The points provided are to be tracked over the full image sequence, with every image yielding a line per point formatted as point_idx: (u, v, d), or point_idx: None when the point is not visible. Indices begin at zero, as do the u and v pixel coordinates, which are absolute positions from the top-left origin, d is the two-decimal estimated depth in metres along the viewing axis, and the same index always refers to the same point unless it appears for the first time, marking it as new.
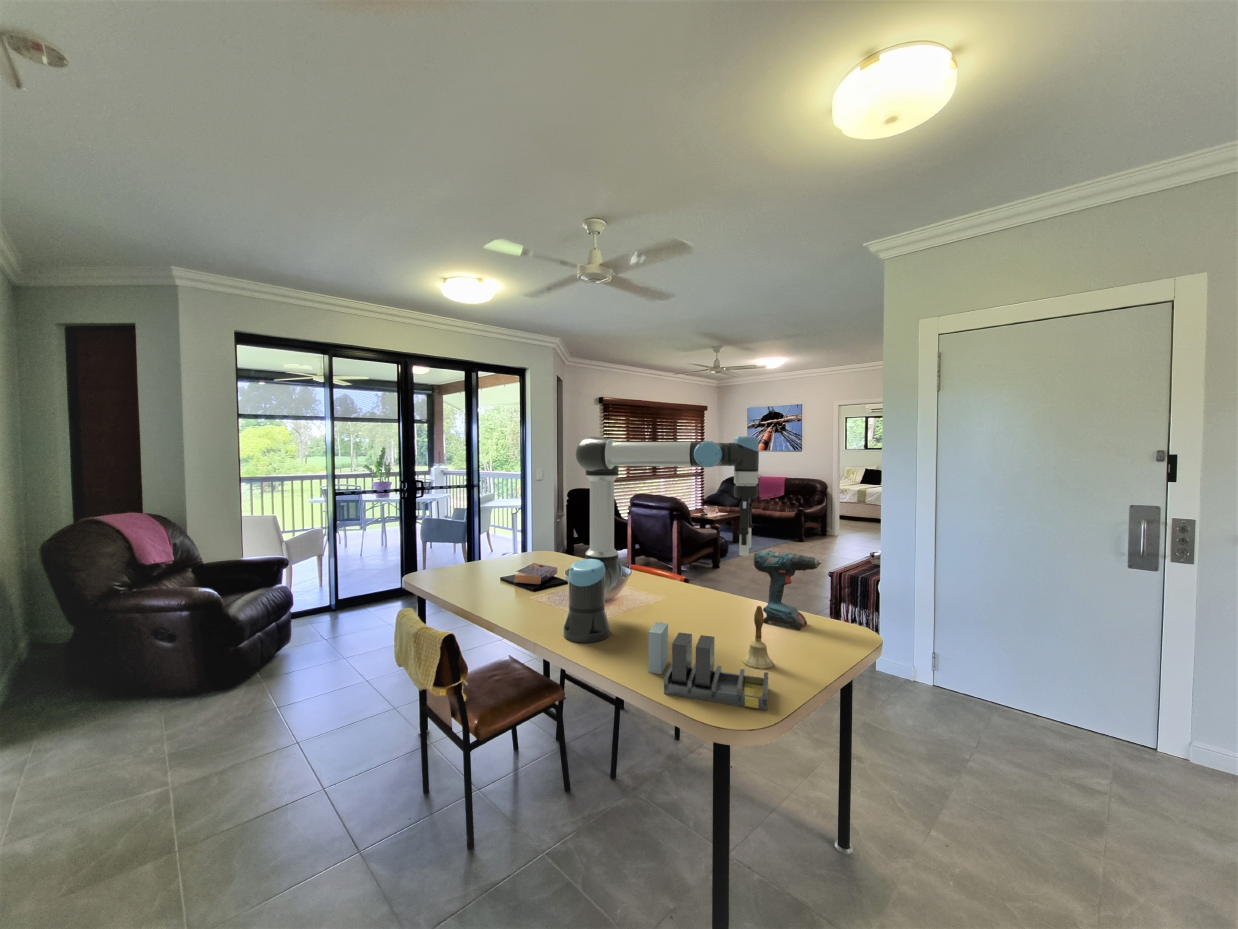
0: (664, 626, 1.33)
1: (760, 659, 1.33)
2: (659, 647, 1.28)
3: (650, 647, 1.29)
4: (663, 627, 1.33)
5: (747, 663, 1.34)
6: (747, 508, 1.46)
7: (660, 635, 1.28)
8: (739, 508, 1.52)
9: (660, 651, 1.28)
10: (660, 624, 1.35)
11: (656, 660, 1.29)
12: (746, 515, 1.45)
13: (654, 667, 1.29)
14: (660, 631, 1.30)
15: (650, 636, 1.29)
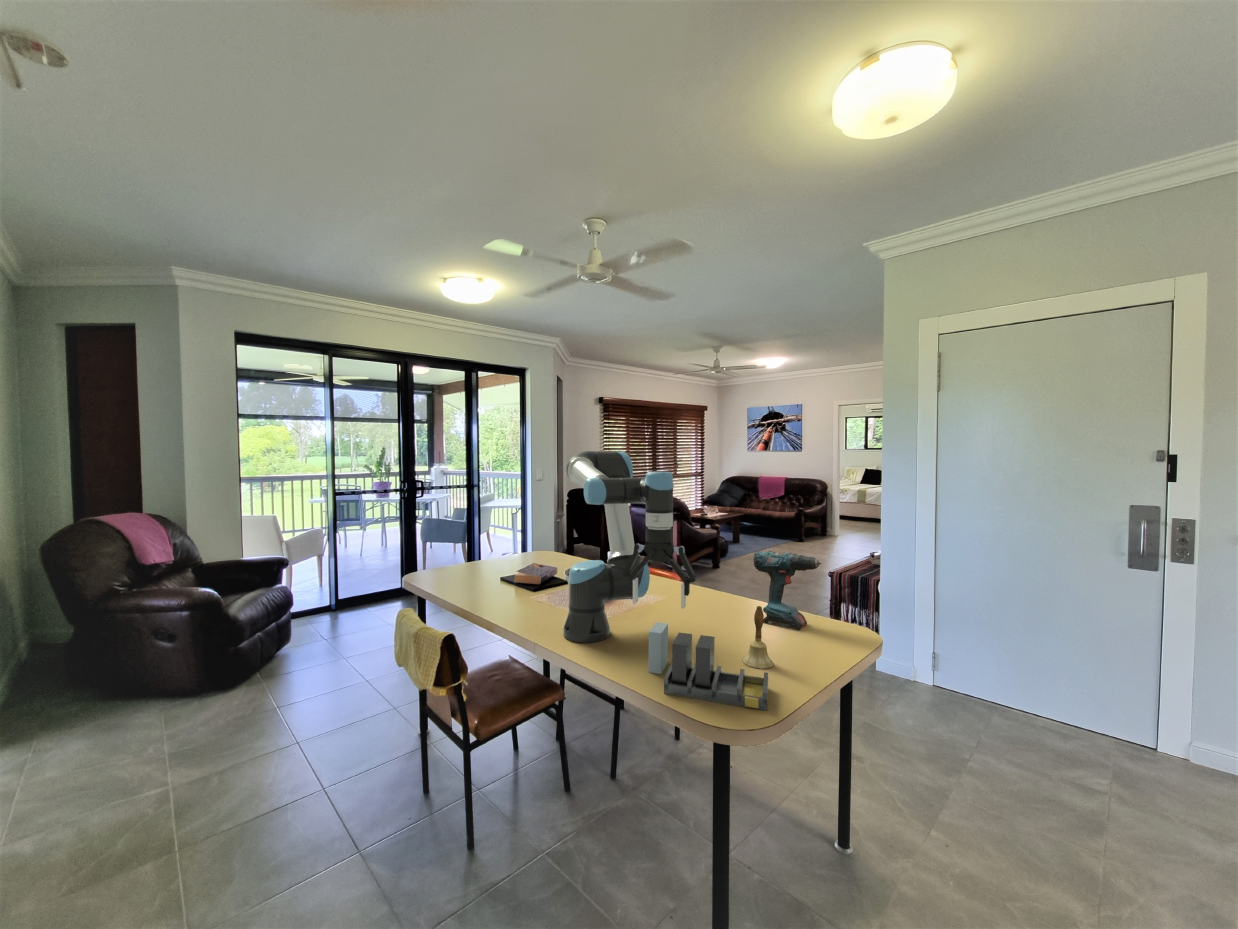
0: (664, 626, 1.33)
1: (760, 659, 1.33)
2: (659, 647, 1.28)
3: (650, 647, 1.29)
4: (663, 627, 1.33)
5: (747, 663, 1.34)
6: None
7: (660, 635, 1.28)
8: None
9: (660, 651, 1.28)
10: (660, 624, 1.35)
11: (656, 660, 1.29)
12: (630, 558, 1.34)
13: (654, 667, 1.29)
14: (660, 631, 1.30)
15: (650, 636, 1.29)
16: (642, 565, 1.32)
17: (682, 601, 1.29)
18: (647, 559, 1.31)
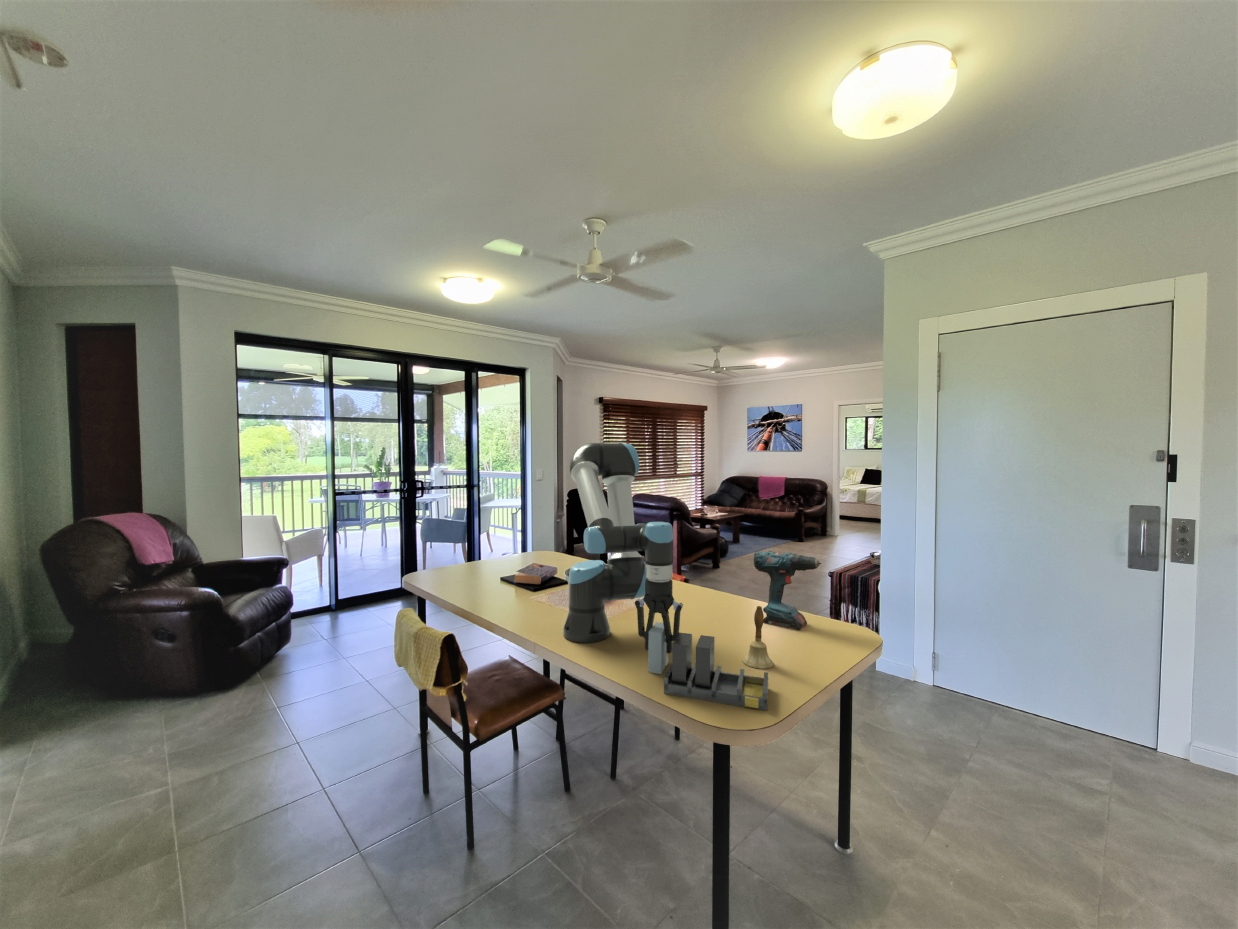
0: None
1: (760, 659, 1.33)
2: (659, 647, 1.28)
3: (650, 647, 1.29)
4: (663, 627, 1.33)
5: (747, 663, 1.34)
6: None
7: (660, 635, 1.28)
8: None
9: (660, 651, 1.28)
10: (660, 624, 1.35)
11: (656, 660, 1.29)
12: None
13: (654, 666, 1.29)
14: (660, 631, 1.30)
15: (650, 636, 1.29)
16: (650, 620, 1.32)
17: (664, 659, 1.31)
18: (651, 613, 1.31)
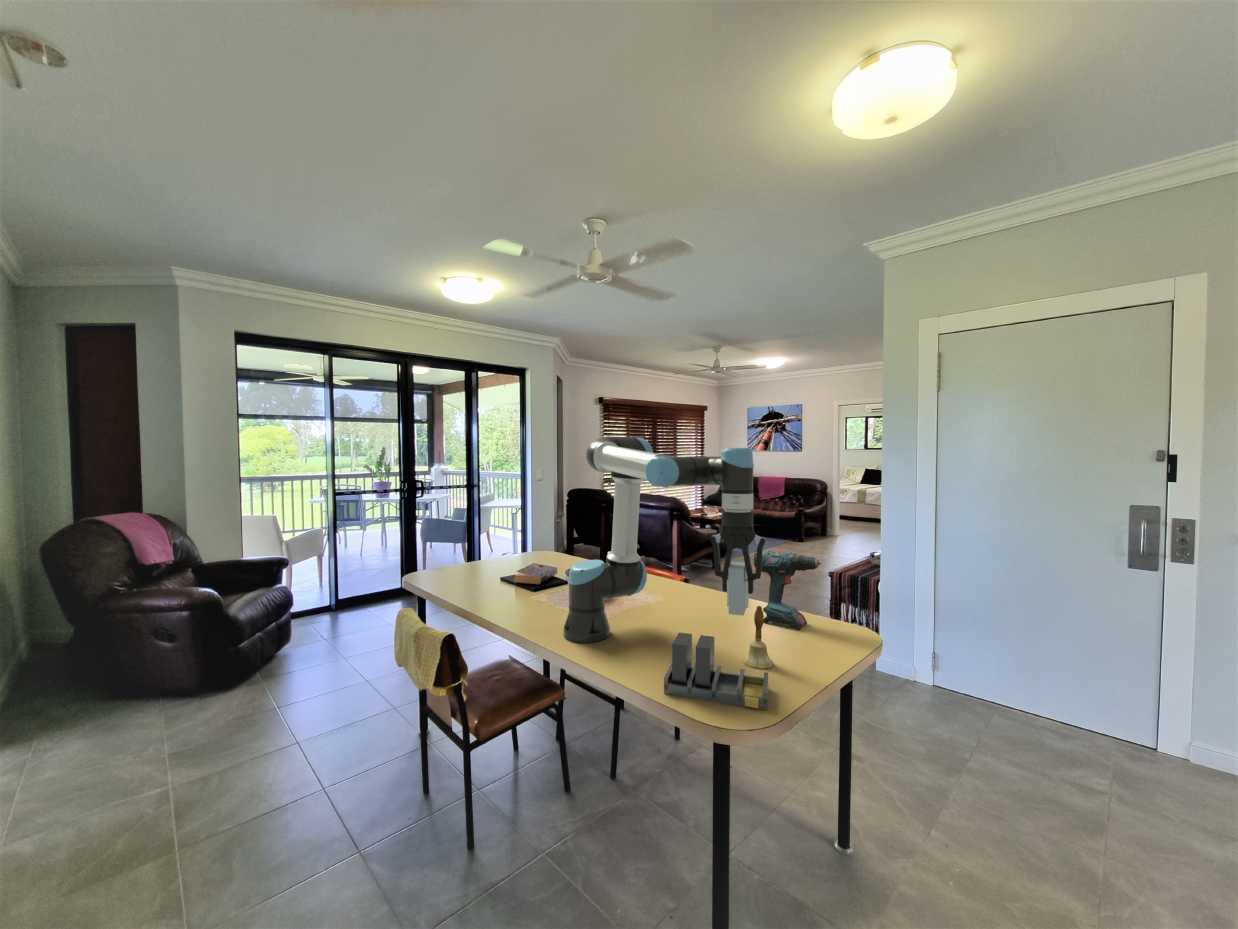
0: (743, 564, 1.19)
1: (760, 659, 1.33)
2: (741, 585, 1.14)
3: (730, 585, 1.15)
4: (742, 565, 1.18)
5: (747, 663, 1.34)
6: None
7: (742, 571, 1.14)
8: None
9: (742, 589, 1.14)
10: (738, 563, 1.21)
11: (738, 599, 1.14)
12: (713, 553, 1.19)
13: (735, 607, 1.14)
14: (741, 567, 1.15)
15: (730, 573, 1.15)
16: (729, 557, 1.18)
17: (746, 600, 1.16)
18: (730, 548, 1.17)
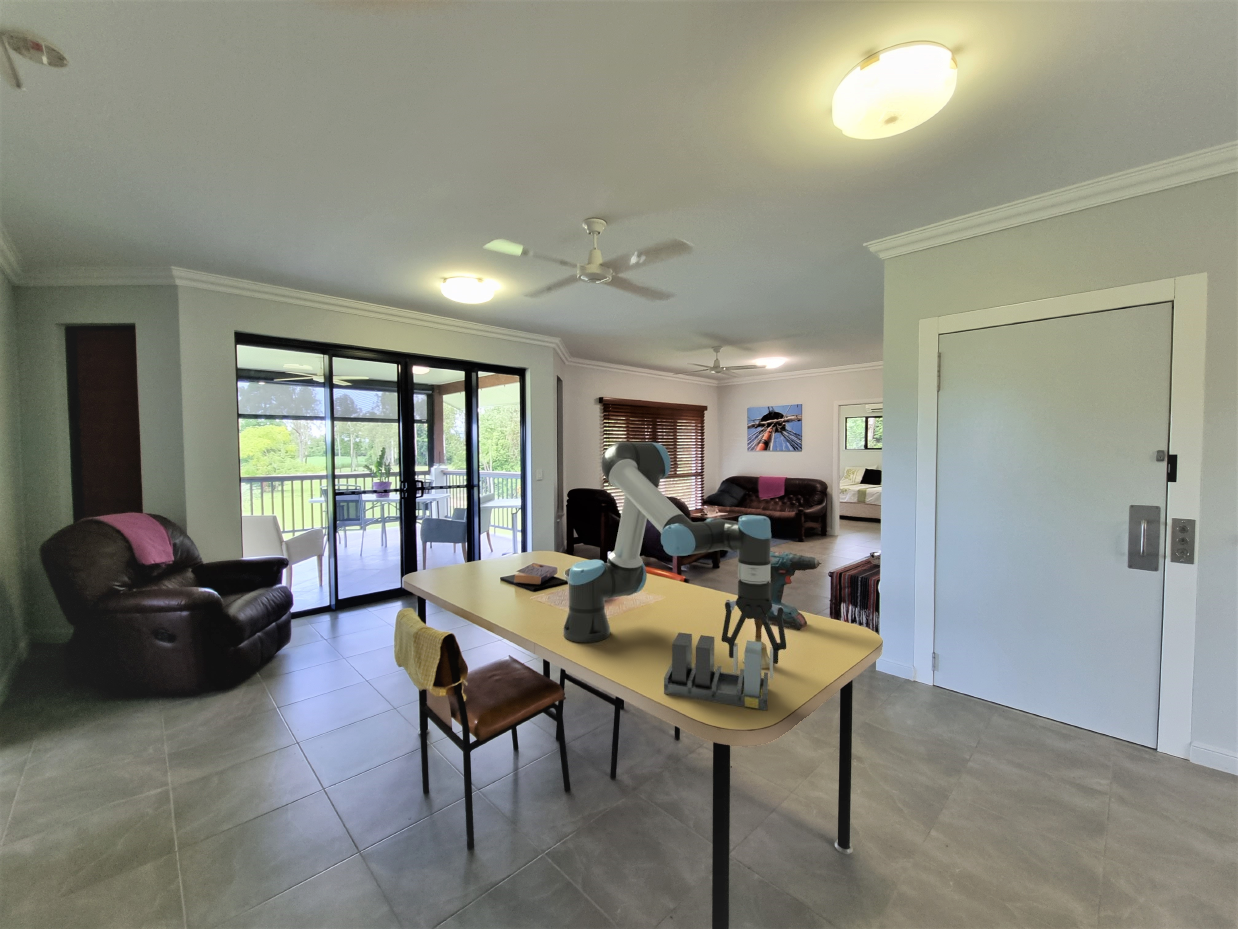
0: (759, 645, 1.17)
1: None
2: (757, 670, 1.12)
3: (746, 670, 1.13)
4: (758, 647, 1.16)
5: None
6: None
7: (758, 657, 1.12)
8: None
9: (758, 675, 1.12)
10: (753, 643, 1.19)
11: (753, 685, 1.12)
12: None
13: (751, 693, 1.13)
14: (757, 652, 1.13)
15: (746, 658, 1.13)
16: (740, 626, 1.16)
17: (771, 670, 1.14)
18: (744, 618, 1.15)
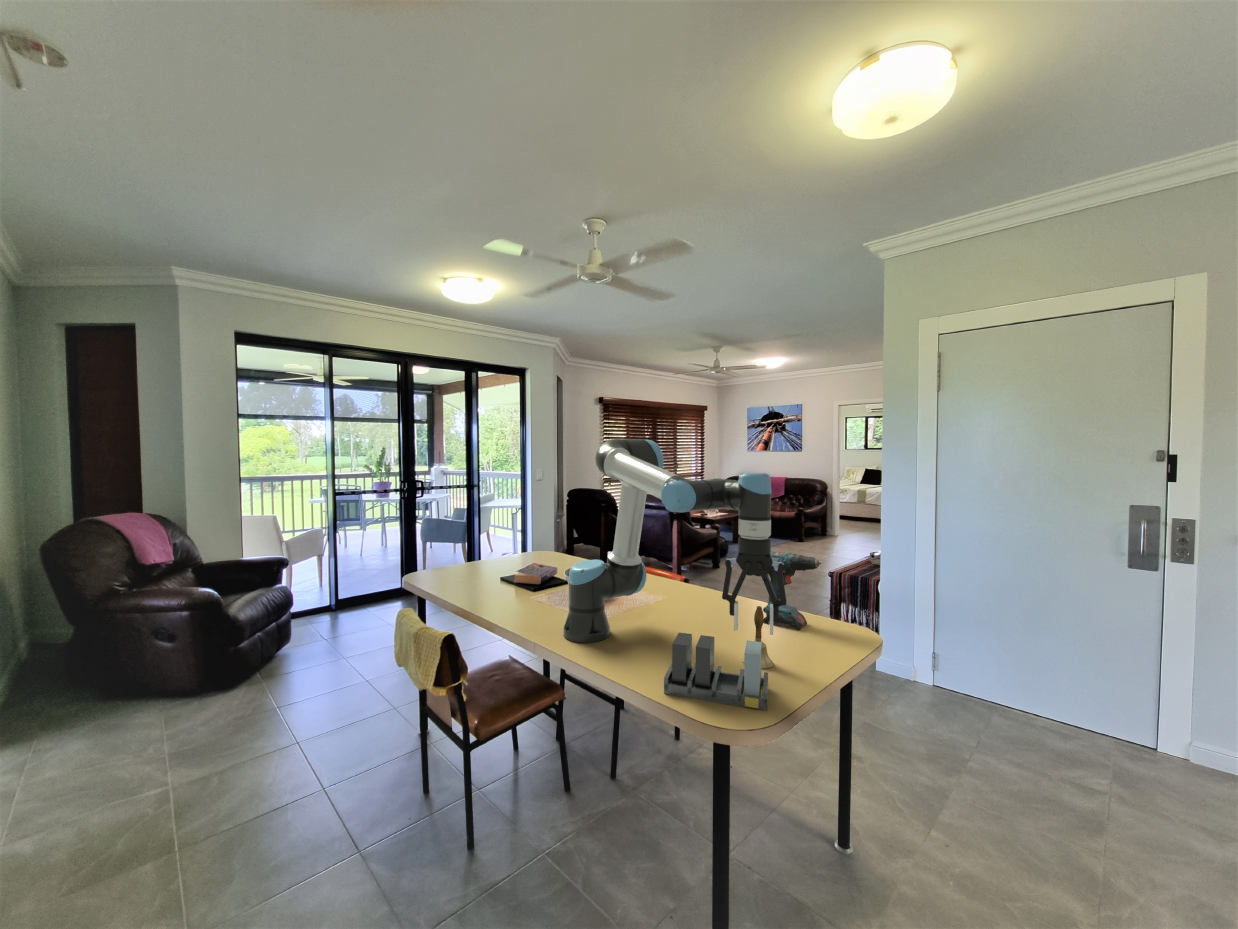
0: (759, 645, 1.17)
1: None
2: (757, 670, 1.12)
3: (746, 670, 1.13)
4: (758, 647, 1.16)
5: None
6: (726, 568, 1.17)
7: (758, 657, 1.12)
8: None
9: (758, 675, 1.12)
10: (753, 643, 1.19)
11: (753, 685, 1.12)
12: (725, 577, 1.17)
13: (751, 693, 1.13)
14: (757, 652, 1.13)
15: (746, 658, 1.13)
16: (740, 583, 1.16)
17: (771, 626, 1.14)
18: (744, 574, 1.15)
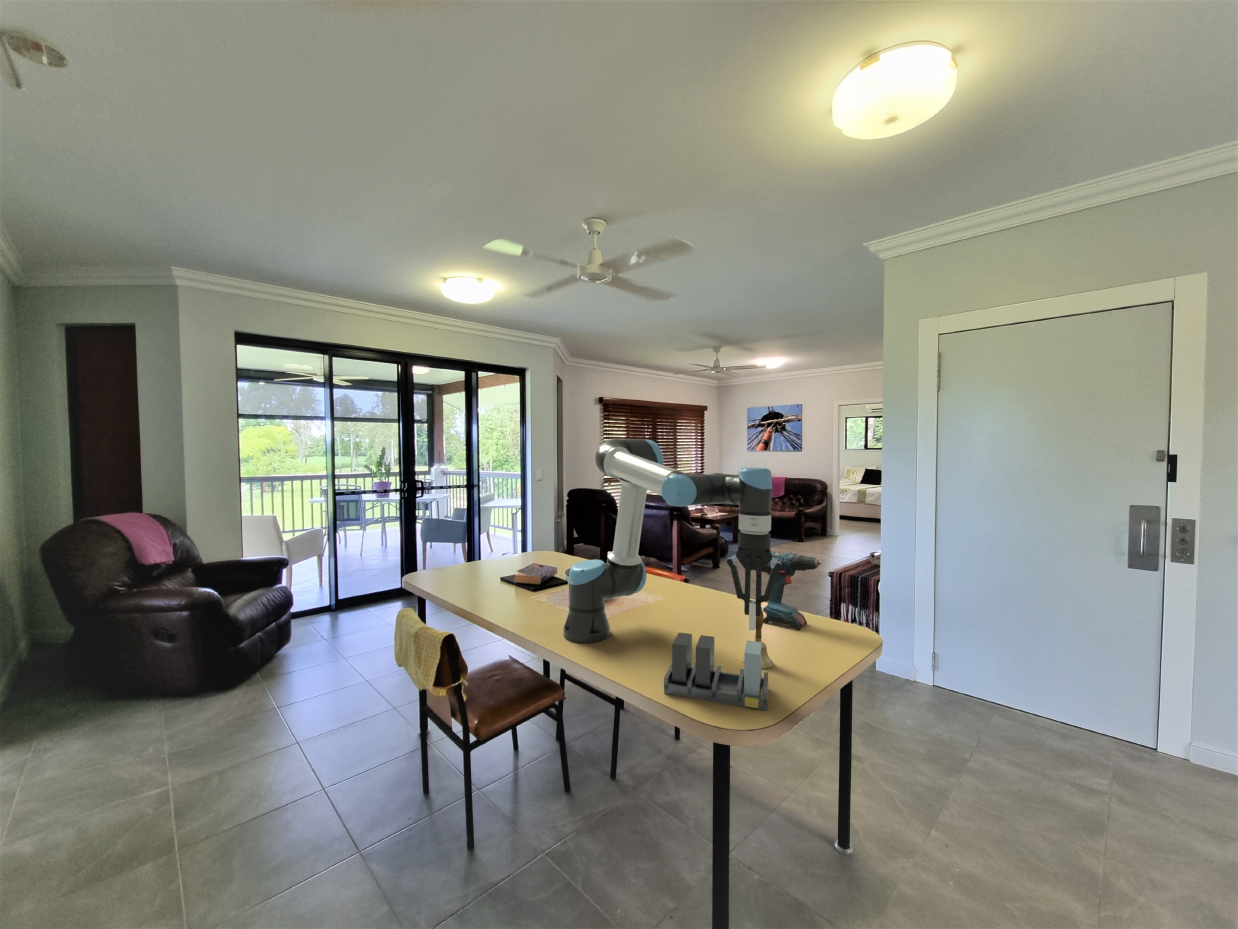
0: (759, 645, 1.17)
1: None
2: (757, 670, 1.12)
3: (746, 670, 1.13)
4: (758, 647, 1.16)
5: None
6: None
7: (758, 657, 1.12)
8: None
9: (758, 675, 1.12)
10: (753, 643, 1.19)
11: (753, 685, 1.12)
12: (732, 576, 1.17)
13: (751, 693, 1.13)
14: (757, 652, 1.13)
15: (746, 658, 1.13)
16: (748, 580, 1.15)
17: (753, 622, 1.15)
18: (748, 570, 1.15)
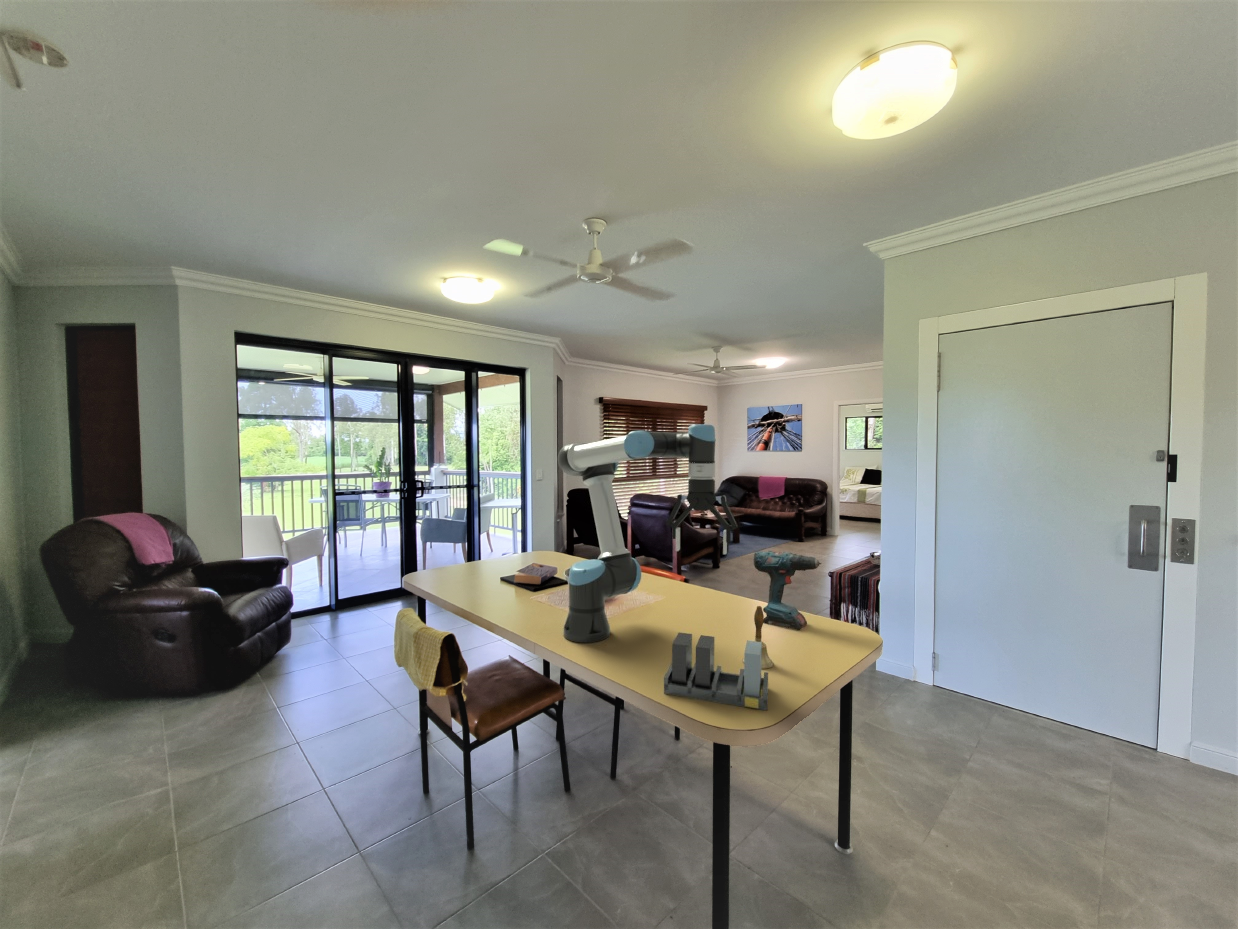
0: (759, 645, 1.17)
1: None
2: (757, 670, 1.12)
3: (746, 670, 1.13)
4: (758, 647, 1.16)
5: None
6: None
7: (758, 657, 1.12)
8: None
9: (758, 675, 1.12)
10: (753, 643, 1.19)
11: (753, 685, 1.12)
12: (673, 508, 1.40)
13: (751, 693, 1.13)
14: (757, 652, 1.13)
15: (746, 658, 1.13)
16: (685, 514, 1.39)
17: (724, 547, 1.35)
18: (690, 508, 1.38)
